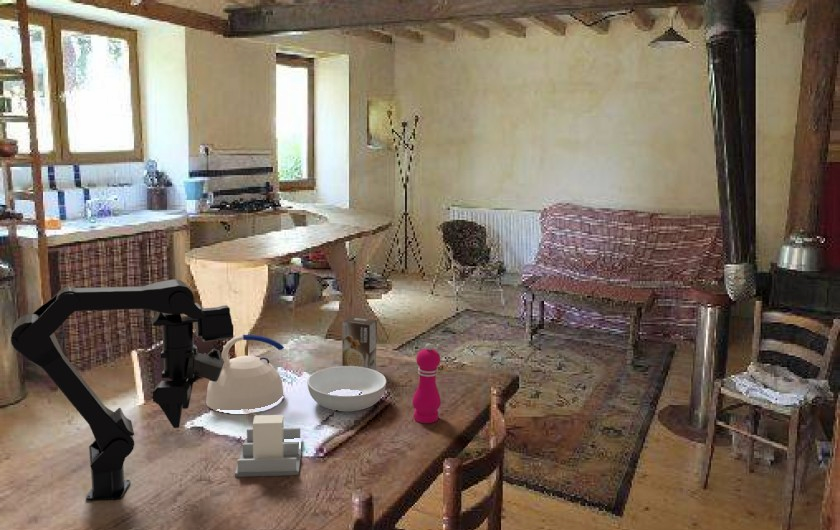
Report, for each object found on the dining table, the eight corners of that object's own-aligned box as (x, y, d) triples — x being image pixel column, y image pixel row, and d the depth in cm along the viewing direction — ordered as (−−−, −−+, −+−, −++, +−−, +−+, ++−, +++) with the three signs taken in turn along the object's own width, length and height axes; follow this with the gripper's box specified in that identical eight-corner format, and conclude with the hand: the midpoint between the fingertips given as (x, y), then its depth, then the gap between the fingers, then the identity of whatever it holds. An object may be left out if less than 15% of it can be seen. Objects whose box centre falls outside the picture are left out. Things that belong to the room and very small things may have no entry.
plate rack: (298, 474, 137) (298, 459, 136) (234, 476, 135) (234, 461, 134) (302, 441, 152) (302, 427, 151) (245, 442, 150) (245, 428, 149)
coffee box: (377, 370, 199) (378, 319, 196) (369, 377, 193) (370, 325, 190) (349, 366, 202) (350, 316, 199) (341, 372, 196) (341, 321, 193)
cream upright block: (282, 466, 138) (282, 422, 136) (253, 467, 137) (252, 423, 135) (283, 457, 142) (283, 414, 140) (255, 458, 141) (254, 415, 139)
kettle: (202, 389, 180) (200, 326, 176) (278, 382, 187) (278, 321, 184) (206, 419, 161) (204, 350, 158) (290, 410, 169) (290, 343, 165)
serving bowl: (294, 414, 166) (294, 389, 165) (325, 385, 186) (325, 362, 185) (372, 425, 161) (372, 399, 160) (395, 394, 181) (395, 370, 180)
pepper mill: (406, 420, 165) (409, 344, 161) (420, 410, 171) (422, 337, 167) (432, 426, 162) (435, 350, 158) (444, 416, 168) (448, 342, 164)
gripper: (213, 359, 121) (215, 437, 124) (226, 329, 139) (228, 398, 142) (150, 360, 119) (154, 439, 122) (172, 330, 137) (174, 399, 140)
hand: (181, 417), depth 132 cm, fingers open, 9 cm apart
